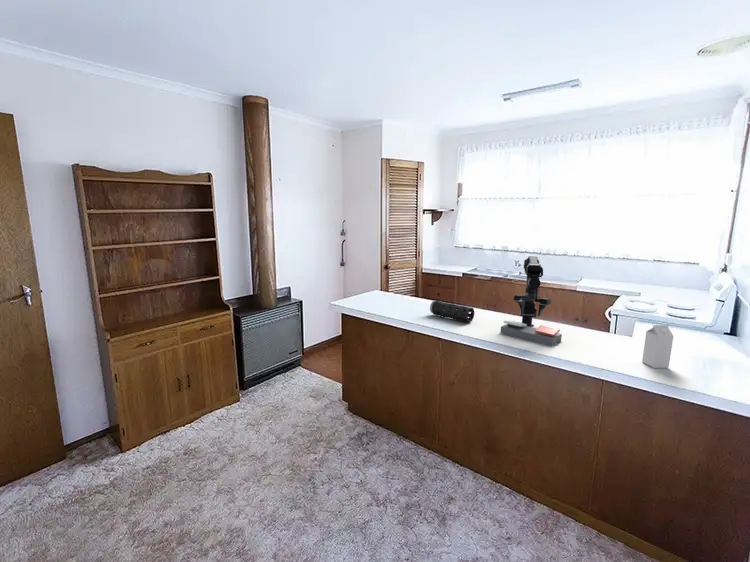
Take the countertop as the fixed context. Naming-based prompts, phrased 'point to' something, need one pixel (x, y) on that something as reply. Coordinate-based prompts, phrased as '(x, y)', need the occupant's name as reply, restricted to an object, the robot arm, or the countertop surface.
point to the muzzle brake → (452, 311)
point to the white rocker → (515, 323)
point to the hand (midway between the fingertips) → (530, 315)
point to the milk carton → (658, 346)
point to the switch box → (530, 334)
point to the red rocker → (547, 330)
